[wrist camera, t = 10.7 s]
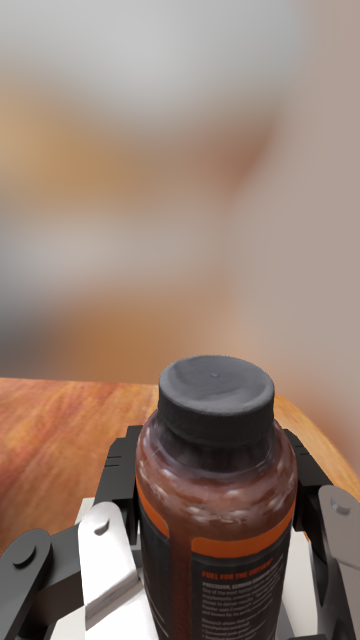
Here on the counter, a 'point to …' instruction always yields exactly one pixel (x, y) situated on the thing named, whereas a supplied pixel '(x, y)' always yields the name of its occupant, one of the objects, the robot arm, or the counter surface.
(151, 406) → the counter surface
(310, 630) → the white square base plate
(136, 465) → the supplement bottle
